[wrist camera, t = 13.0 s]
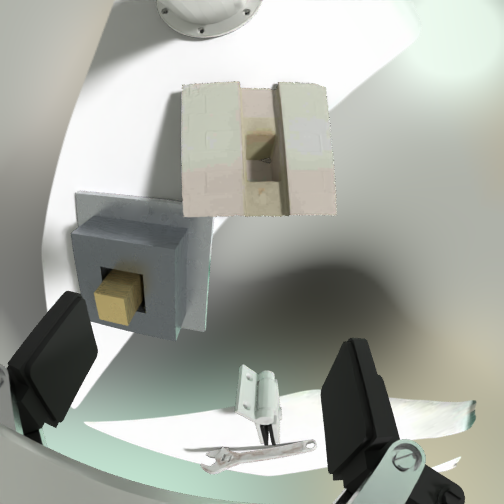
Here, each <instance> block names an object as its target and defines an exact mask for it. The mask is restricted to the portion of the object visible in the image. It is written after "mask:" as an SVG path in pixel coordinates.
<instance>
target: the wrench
mask: <svg viewBox="0 0 504 504" xmlns="http://www.w3.org/2000/svg"><path fill="white" fill-rule="evenodd" d="M308 443H314V444H315V446H314V447H313V448H307V447H306V445H307V444H308ZM316 447H317V444H316V441H315V440H306V441H301V442H297V443H293V444H288V445H284V446H278V447H273V448H268V449H262V450H256V451H250V452H242V453H236V452H232V451H229V448H228V447H226V448H224V447H222V448H221V449H219V450H213V451H210V452H208V453H206V456H208V457H211V458H215V459H216V462H215V463H214V464H212V465H211V466H207V465H204V464H201V467H202V468H203V470H205V471H206V472H207V473H209V474H217V473H220V472H222V471H224V470H226V469H228V468H230V467H233V466H236V465H238V464H241V463H249V462H256V461H263V460H270V459H276V458H281V457H287V456H292V455H297V454H302V453H306V452H311V451H314V450H315V449H316Z"/></svg>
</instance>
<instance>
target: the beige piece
mask: <svg viewBox="0 0 504 504" xmlns="http://www.w3.org/2000/svg"><path fill="white" fill-rule="evenodd" d="M182 86H183V87H182V89H183V91H182V93H181V97H182V99H181V100H182V101H181V102H182V104H181V105H182V108H181V110H182V112H181V114H182V115H181V119H182V121H181V128H182V130H181V131H182V132H181V148H182V150H181V151H182V153H181V162H182V163H181V164H182V169H181V170H182V171H181V172H182V174H181V175H182V180H181V181H182V189H183V190H182V198H183V213H184V214H183V215H185V216H183V217H208V216H209V217H214V216H215V217H217V215H218V216H234V215H240V216H244V215H245V216H247V217H248V216H263V215H264V216H272V217H273V216H280V217H281V216H283V215H285V216H289V215H298V214H299V215H331V216H332V215H334V216H335V215H337V210H336V208H337V205H336V203H335V202H336V190H335V187H336V185H335V183H334V182H335V176H334V175H335V173H334V164H333V161H334V160H333V153H332V152H333V150H332V143H331V142H332V141H331V140H332V138H331V131H330V122H329V118H330V117H329V113H328V105H327V96H326V87H322V86H320V85H317V84H313V83H311V84H310V83H299V82H295V83H293V82H289V83H287V82H278V86H277V89H276V90H272V89H266V88H263V89H262V88H261V89H257V88H254V89H252V88H240V82H235V81H234V82H217V83H216V82H215V83H210V84H209V83H205V84H203V83H202V84H197V83H195V84H189V85H182ZM267 158H270V159H271V162H270V164H269V163H266V162H263V161H261V160H262V159H267Z"/></svg>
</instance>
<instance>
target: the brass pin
mask: <svg viewBox="0 0 504 504" xmlns="http://www.w3.org/2000/svg"><path fill="white" fill-rule="evenodd" d="M94 296H95V301H96V306H97V310H98V315H99V319H101V320H105V321H109V322H113V323H117V324H122V325H126V326H128V325H129V324H130V322H131V320H132V318H133V316H134V315H135V313H136V311H137V309H138V308H139V306H140V304H141V302H142V301H143V299H144V297H145V295H144V281H143V275H142V274H137V273H132V272H126V271H121V270H116V269H113V270H112V271H111V272H110V273H109V274H108V276H107V277H106V278H105V279H104V281H103V282H102V283H101V284H100V286H99V287H98V288H97V289H96V291H95V292H94Z"/></svg>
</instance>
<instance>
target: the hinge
mask: <svg viewBox="0 0 504 504" xmlns="http://www.w3.org/2000/svg"><path fill="white" fill-rule="evenodd" d="M274 376H275V375H274V373H273V372H271V371H263V372H261V373H259V374H257V373H256V372H254V371H252V370H251V369H250V368H248V367H247V366H245V365H243V364H242V365H241V366H240V369H239V378H238V386H237V395H236V403H235V411H234V412H235V413H237V414H239V415H241V416H243V417H245V418H247V419H248V420H250V421H252V422H254V423H255V425H256V429H257V432H258V436H259V439H260V443H261V444H264V445H265V446H266V445H268V434H269V433H270V438H271V442H272V445H276V443H280V420H282V409H281V407H280V399H279V391H278V384H277V380H274ZM247 377H248V379H247ZM257 385H258V388H257ZM256 396H257V405H256ZM243 404H244V405H245V407H246V409H245V408H244V406H243Z"/></svg>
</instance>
